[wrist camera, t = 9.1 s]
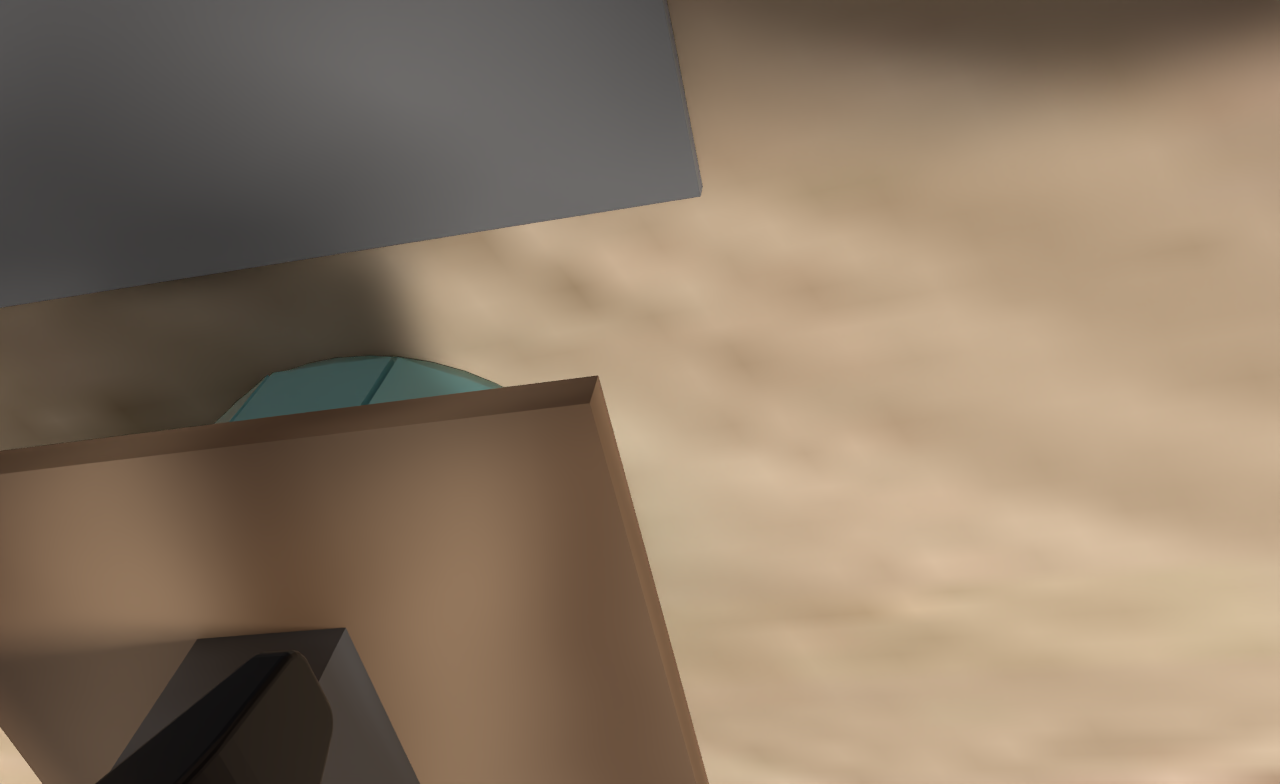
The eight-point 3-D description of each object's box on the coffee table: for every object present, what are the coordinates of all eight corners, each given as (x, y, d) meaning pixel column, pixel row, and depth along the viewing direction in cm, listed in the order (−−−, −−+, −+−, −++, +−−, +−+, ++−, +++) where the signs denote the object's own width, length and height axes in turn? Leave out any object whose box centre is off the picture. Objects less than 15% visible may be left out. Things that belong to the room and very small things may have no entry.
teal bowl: (580, 324, 22) (529, 467, 17) (682, 700, 27) (662, 878, 23) (116, 387, 24) (-28, 526, 20) (295, 721, 29) (212, 887, 25)
